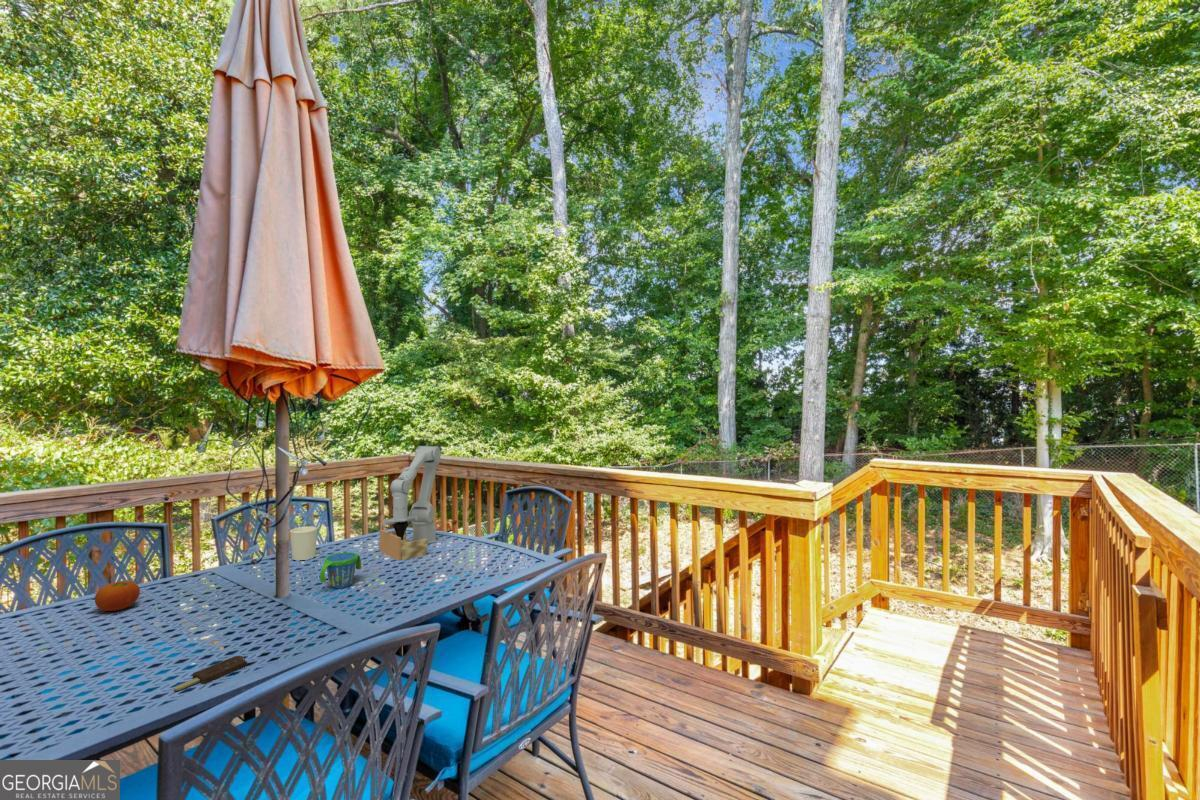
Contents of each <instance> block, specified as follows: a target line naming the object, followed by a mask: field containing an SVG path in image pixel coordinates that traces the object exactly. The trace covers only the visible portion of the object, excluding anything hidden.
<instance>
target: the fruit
mask: <svg viewBox="0 0 1200 800" xmlns="http://www.w3.org/2000/svg"><path fill="white" fill-rule="evenodd" d="M140 593H141V589H140V586H139V585H138V584H137V583H136V582H135V581H131V580H121V581H113V582H110V583H109V584H106V585H104V586H102V587H100V588H99V589H98V591H97V592H96V593H95V595H94V603H95V606H96V607H97V608H98V610H101V611H102V612H103V611H104V612H114V611H121V610H124V609H126V608H129V607H130V606H132V605H133V604H134V603H135V602H136V601H137V600H138V599H139V597H140Z"/></svg>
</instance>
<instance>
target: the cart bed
mask: <svg viewBox="0 0 1200 800" xmlns="http://www.w3.org/2000/svg"><path fill="white" fill-rule="evenodd" d="M389 533H391V534H394V535H396V532H395V531H392V532H390V531H389ZM396 536H397V535H396ZM411 541H412V542H411ZM428 545H429V544H428V539H421V540H416V541H413V540H409V539H407V530H406V531H405V533H404V536H403V540H401V560H400V561H405V560H410V559H415V558H419V557H423V556H427V555H428V548H429V547H428Z"/></svg>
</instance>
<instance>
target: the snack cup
mask: <svg viewBox="0 0 1200 800" xmlns="http://www.w3.org/2000/svg"><path fill="white" fill-rule="evenodd" d="M361 568H362V559H361V557H360V555H359V554H358V553H356V552H349V551H347V552H337V553H333V554H329V555H328V556H326V557H325V558H324V563H323V564H322V567H321V569H320V575H319V580H320V582H321V583H326V582H327V579H326V573H325V572H327V577H328V585H329V586H330V588H332V589H343V588H346V587H349V586H350V585H353V584H354V580H355V574H356V569H357V570H361Z"/></svg>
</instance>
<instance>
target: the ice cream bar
mask: <svg viewBox="0 0 1200 800" xmlns="http://www.w3.org/2000/svg"><path fill="white" fill-rule="evenodd" d="M245 666H246V667H247V666H248V661H247V660H246V659H245V657H244V656H242V655H236V656H235V655H233V656H232V657H230V658H227V659H225V660H222V661H220V662H216V663H214V664H212V665H209V666H208V667H205V668H202V669H200V670H198V671H195V672H194V673H192V679H190V680H188V681H186V682H182V683H180V684H178V685H176V686H174V687H173V691H176V692H177V691H178V692H179V691H182V690H183V689H186V688H189V687H190V686H193V685H195V684H198V683H200V684H202V685H206V684H208V683H211V682H214V681H216V680H218V679H221V678H223V677H225V676H228V675H230V674H232V673H234V672H233V671H235V672H237V671H239V670H242V669H243V667H244V668H246V667H245ZM241 668H242V669H241ZM238 669H239V670H238ZM236 670H237V671H236ZM231 672H232V673H231ZM229 673H230V674H229ZM227 674H228V675H227ZM224 675H225V676H224ZM222 676H223V677H222ZM220 677H221V678H220ZM213 680H214V681H213Z"/></svg>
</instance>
